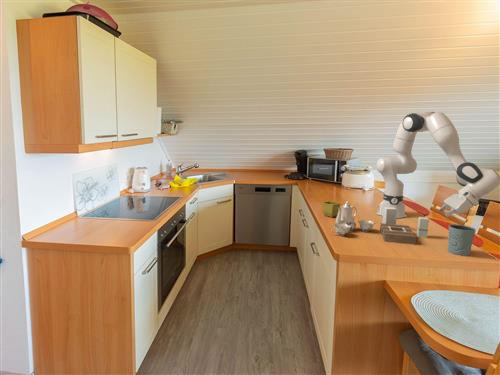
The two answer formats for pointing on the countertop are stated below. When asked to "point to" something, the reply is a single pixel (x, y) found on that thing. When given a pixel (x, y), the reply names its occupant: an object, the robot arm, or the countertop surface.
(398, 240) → the socket board
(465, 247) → the blue-grey embossed planter
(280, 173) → the countertop surface
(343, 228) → the chinaware
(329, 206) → the flower pot
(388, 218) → the skincare box
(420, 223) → the sage peg
